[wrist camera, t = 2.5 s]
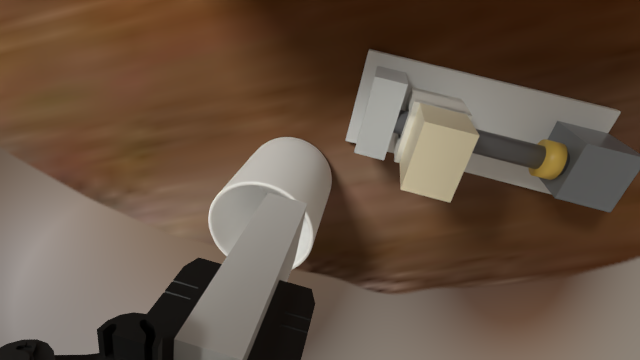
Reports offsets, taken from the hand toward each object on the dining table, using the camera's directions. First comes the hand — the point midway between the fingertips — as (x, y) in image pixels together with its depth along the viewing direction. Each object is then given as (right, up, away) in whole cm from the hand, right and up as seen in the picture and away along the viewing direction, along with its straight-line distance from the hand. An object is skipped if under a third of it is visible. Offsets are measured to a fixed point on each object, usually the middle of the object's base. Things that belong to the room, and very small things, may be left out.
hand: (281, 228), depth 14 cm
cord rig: (+14, +7, +18) cm, 24 cm away
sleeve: (+10, +7, +16) cm, 20 cm away
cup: (-1, +1, +24) cm, 24 cm away
